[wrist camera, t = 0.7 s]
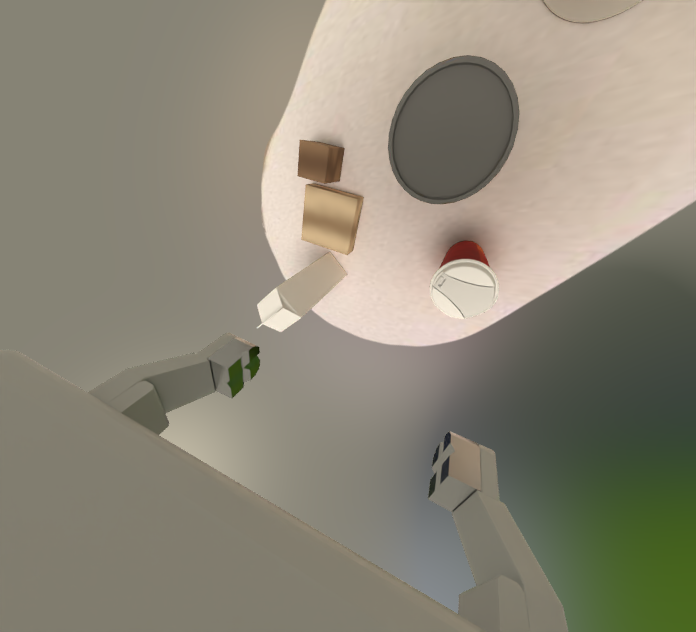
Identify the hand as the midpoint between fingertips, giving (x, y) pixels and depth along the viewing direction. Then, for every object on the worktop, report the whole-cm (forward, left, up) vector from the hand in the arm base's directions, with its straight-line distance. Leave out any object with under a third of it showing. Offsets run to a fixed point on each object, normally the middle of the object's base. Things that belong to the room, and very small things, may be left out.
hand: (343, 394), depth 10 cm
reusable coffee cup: (-10, -1, -41) cm, 42 cm away
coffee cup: (+5, +7, -41) cm, 42 cm away
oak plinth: (+5, -18, -41) cm, 45 cm away
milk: (+16, -18, -41) cm, 47 cm away
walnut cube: (-4, -21, -41) cm, 46 cm away
